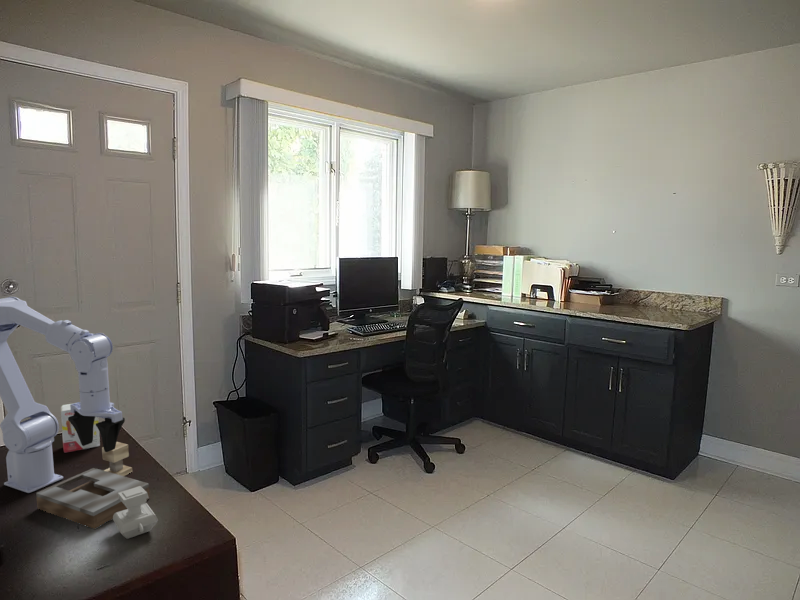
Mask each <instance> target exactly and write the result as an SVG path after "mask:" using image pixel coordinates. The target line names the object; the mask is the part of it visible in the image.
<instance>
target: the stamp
mask: <svg viewBox="0 0 800 600" xmlns="http://www.w3.org/2000/svg"><path fill="white" fill-rule="evenodd" d="M118 496H119V499H120V500H121V501H122V503H123V504H124V505H125V506H126V508H127V509H125V510H122V511H119V512H116V513H115V514H114V515H113V519H112V521H113V522H114V524H115V525H116V527H117V529H118V531H119V532H120V534H121V535H122V537H124V538H126V540H128V539H131V538H133V537H136V536H139V535H142V534H145V533H147V532H148V533H149V532H150V531H152V529H154V527H155V526H156V525H157V523H158V522H159V519H158V517H157V516H156V514H155V512H154V511H153V509H152V508H151V507H150V506H149V504H148V503H147V501H148V500H146V499H148V498H149V496H150V495H149V496H148V493H147V492H146V491H145V490H144V489H143V488H142V487H141V486H138V487H135V488H132V489H129V490H125V491H122V492H119V493H118Z"/></svg>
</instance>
